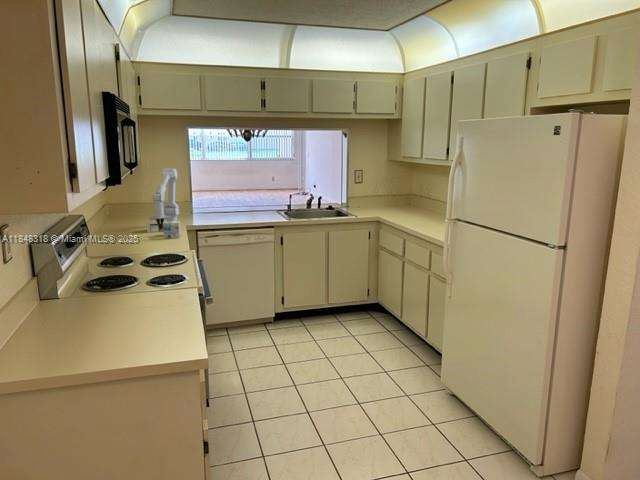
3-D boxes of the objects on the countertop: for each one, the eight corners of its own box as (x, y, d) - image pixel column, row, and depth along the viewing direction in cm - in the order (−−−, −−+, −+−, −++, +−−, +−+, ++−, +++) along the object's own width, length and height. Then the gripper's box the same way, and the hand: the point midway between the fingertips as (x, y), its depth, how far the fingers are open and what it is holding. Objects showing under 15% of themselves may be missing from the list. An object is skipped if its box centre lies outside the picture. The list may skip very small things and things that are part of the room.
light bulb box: (163, 238, 322) (162, 223, 320) (164, 236, 328) (163, 221, 326) (180, 238, 324) (179, 222, 322) (180, 236, 331) (179, 220, 328)
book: (151, 230, 342) (150, 226, 341) (158, 229, 344) (158, 225, 343) (151, 232, 335) (150, 228, 334) (158, 231, 336) (158, 227, 335)
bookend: (147, 230, 342) (146, 219, 340) (150, 229, 343) (149, 218, 341) (147, 232, 333) (146, 221, 331) (150, 232, 334) (149, 221, 332)
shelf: (147, 231, 344) (147, 224, 343) (173, 230, 350) (172, 222, 349) (147, 234, 333) (146, 227, 332) (173, 233, 339) (173, 225, 337)
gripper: (148, 211, 331) (149, 230, 334) (170, 210, 336) (171, 229, 339) (148, 210, 338) (150, 229, 341) (170, 209, 342) (171, 227, 345)
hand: (160, 229), depth 340 cm, fingers closed
